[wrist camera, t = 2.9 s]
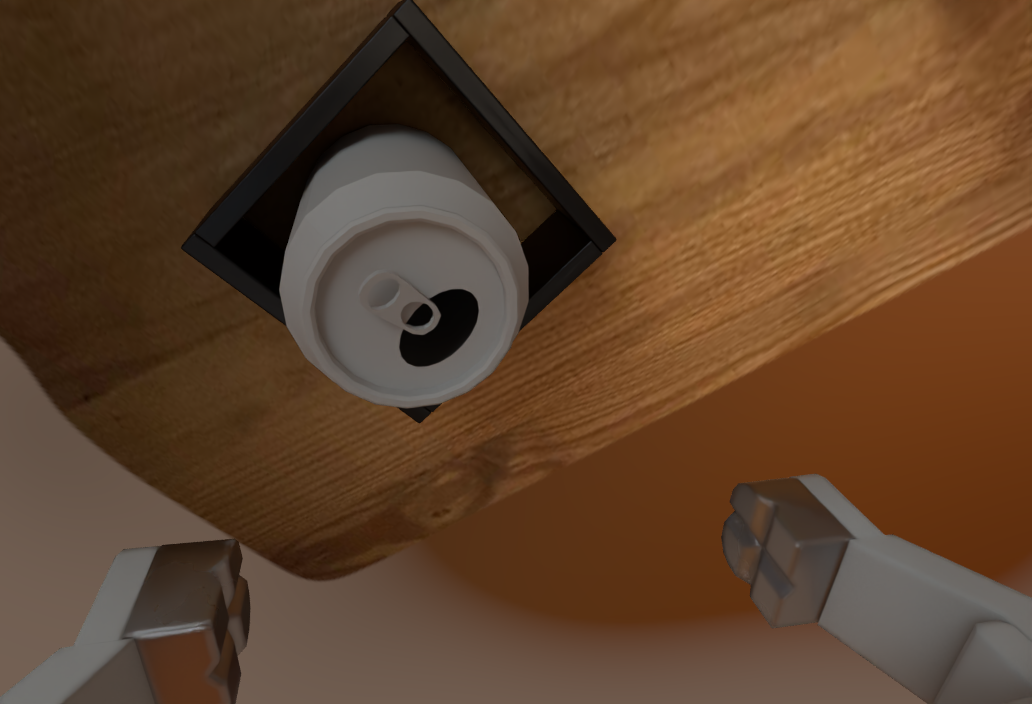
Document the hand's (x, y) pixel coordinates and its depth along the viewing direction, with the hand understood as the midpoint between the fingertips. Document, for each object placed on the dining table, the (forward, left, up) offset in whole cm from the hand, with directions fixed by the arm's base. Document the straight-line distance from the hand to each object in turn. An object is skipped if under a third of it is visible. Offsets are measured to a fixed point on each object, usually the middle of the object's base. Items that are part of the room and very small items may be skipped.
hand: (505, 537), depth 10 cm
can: (-1, -1, -21) cm, 21 cm away
